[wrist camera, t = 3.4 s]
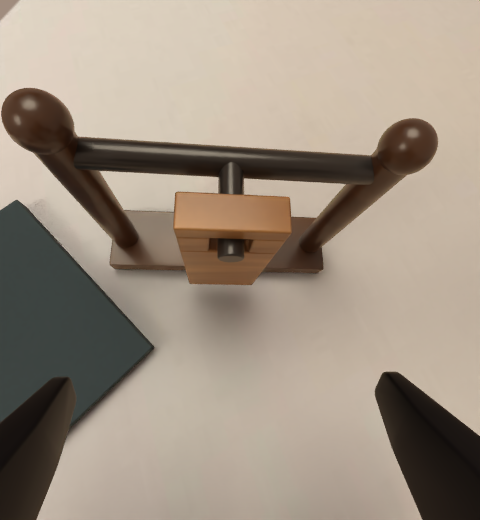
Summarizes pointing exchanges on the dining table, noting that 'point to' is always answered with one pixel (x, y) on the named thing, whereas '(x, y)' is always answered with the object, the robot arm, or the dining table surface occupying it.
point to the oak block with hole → (229, 234)
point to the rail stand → (213, 165)
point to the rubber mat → (56, 320)
